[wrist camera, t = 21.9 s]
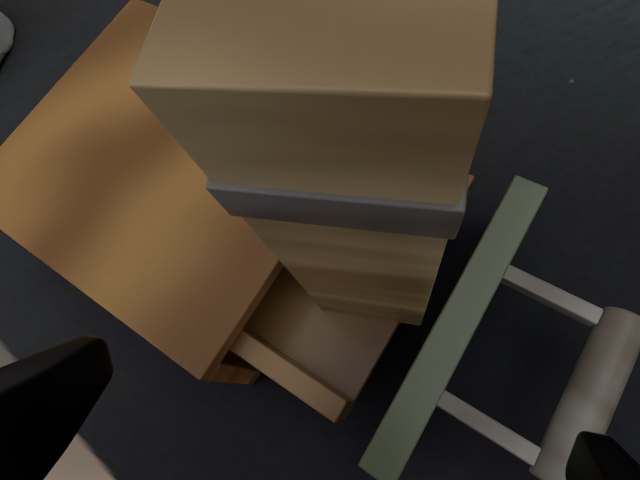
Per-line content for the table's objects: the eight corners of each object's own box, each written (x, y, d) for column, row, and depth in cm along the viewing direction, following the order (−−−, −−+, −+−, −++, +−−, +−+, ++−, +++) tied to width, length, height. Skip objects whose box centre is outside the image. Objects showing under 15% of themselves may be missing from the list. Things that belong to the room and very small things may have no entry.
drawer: (638, 280, 17) (700, 249, 13) (517, 558, 14) (554, 608, 11) (273, 117, 22) (251, 66, 19) (145, 294, 20) (93, 273, 17)
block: (423, 328, 16) (504, 105, 4) (319, 312, 17) (112, 90, 5) (430, 260, 17) (514, -99, 5) (330, 249, 18) (183, -78, 6)
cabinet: (391, 165, 21) (388, 94, 16) (252, 385, 19) (199, 381, 14) (183, 73, 26) (132, -4, 21) (50, 239, 23) (-45, 195, 18)
